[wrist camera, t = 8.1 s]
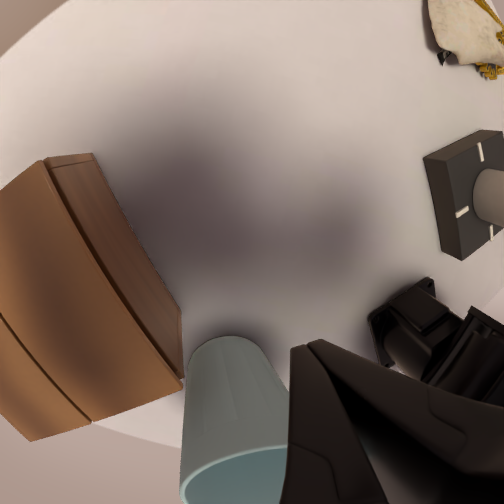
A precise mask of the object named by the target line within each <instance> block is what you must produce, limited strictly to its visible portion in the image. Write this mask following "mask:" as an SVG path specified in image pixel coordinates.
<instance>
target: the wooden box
mask: <svg viewBox="0 0 504 504" xmlns="http://www.w3.org/2000/svg"><path fill="white" fill-rule="evenodd" d="M43 163H44V165H45V167H46V169H47V172H48V174H49V176H50V178H51V180H52V182H53V184H54V186H55V188H56V190H57V192H58V194H59V196H60V198H61V200H62V202H63V204H64V206H65V207H66V209H67V211H68V213H69V215H70V217H71V219H72V221H73V222H74V224H75V226H76V228H77V230H78V231H79V233H80V235H81V237H82V238H83V240H84V242H85V244H86V245H87V247H88V249H89V250H90V252H91V254H92V255H93V257H94V259H95V260H96V262H97V264H98V265H99V267H100V269H101V270H102V272H103V273H104V275H105V277H106V278H107V280H108V281H109V283H110V284H111V286H112V287H113V289H114V291H115V292H116V294H117V295H118V297H119V298H120V300H121V301H122V303H123V304H124V306H125V307H126V308H127V310H128V311H129V313H130V314H131V316H132V317H133V319H134V320H135V321H136V323H137V324H138V326H139V327H140V328H141V330H142V331H143V333H144V334H145V335H146V337H147V338H148V339H149V341H150V342H151V344H152V345H153V346H154V348H155V349H156V350H157V352H158V353H159V354H160V355H161V357H162V358H163V359H164V361H165V362H166V363H167V365H168V366H169V367H170V368H171V370H172V371H173V372H174V373H175V375H176V376H177V377H178V378H179V380H180V379H182V378H184V366H183V347H182V324H181V310H180V309H179V307H178V306H177V304H176V303H175V301H174V299H173V298H172V296H171V295H170V293H169V291H168V290H167V288H166V287H165V285H164V283H163V282H162V280H161V278H160V277H159V275H158V273H157V272H156V270H155V268H154V267H153V265H152V263H151V262H150V260H149V258H148V257H147V255H146V253H145V251H144V250H143V248H142V246H141V244H140V243H139V241H138V239H137V237H136V236H135V234H134V232H133V230H132V229H131V227H130V225H129V223H128V221H127V219H126V218H125V216H124V214H123V212H122V210H121V208H120V207H119V205H118V203H117V201H116V199H115V197H114V195H113V193H112V191H111V190H110V188H109V186H108V184H107V182H106V180H105V178H104V176H103V174H102V172H101V170H100V168H99V166H98V164H97V162H96V160H95V158H94V156H93V154H92V153H86V154H75V155H64V156H55V157H47V158H46V159H44V160H43ZM0 414H1V415H2V416H3V417H4V418H5V419H6V420H7V421H8V422H9V423H11V425H12V426H13V427H15V428H16V429H17V430H18V431H19V432H20V433H21V434H22V435H23V436H24V437H25V438H26V439H28V440H29V441H30V442H32V441H35V440H39V439H43V438H46V437H50V436H53V435H56V434H60V433H63V432H67V431H70V430H73V429H76V428H79V427H83V426H86V425H89V424H91V422H92V420H91V419H90V418H89V417H88V416H87V415H86V414H85V413H84V412H83V411H82V410H81V409H80V408H79V407H78V406H77V405H76V404H75V403H74V402H73V401H72V400H71V399H70V398H69V397H68V396H67V395H66V394H65V393H64V392H63V390H62V389H61V388H60V387H59V386H58V385H57V384H56V383H55V382H54V381H53V379H52V378H51V377H50V376H49V375H48V374H47V373H46V371H45V370H44V369H43V368H42V367H41V366H40V364H39V363H38V362H37V361H36V359H35V358H34V357H33V356H32V355H31V353H30V352H29V351H28V349H27V348H26V347H25V346H24V344H23V343H22V342H21V340H20V339H19V338H18V336H17V335H16V334H15V332H14V331H13V330H12V328H11V327H10V325H9V324H8V323H7V321H6V320H5V318H4V317H3V315H2V314H1V312H0Z"/></svg>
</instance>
